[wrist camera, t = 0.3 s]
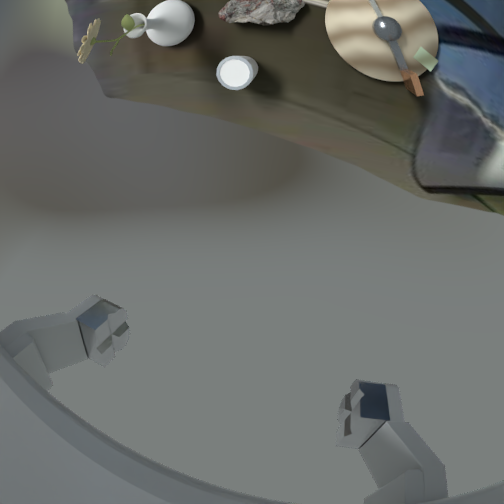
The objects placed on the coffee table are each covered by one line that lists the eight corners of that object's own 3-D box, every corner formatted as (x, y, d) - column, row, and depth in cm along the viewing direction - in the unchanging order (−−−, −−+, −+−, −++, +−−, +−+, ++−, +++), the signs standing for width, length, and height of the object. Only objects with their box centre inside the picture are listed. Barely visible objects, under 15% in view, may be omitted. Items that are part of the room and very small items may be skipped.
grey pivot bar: (352, -7, 27) (356, -13, 22) (376, -12, 24) (384, -19, 19) (398, 90, 38) (407, 98, 34) (420, 85, 36) (432, 93, 31)
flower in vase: (177, -9, 32) (93, -15, 16) (208, 22, 38) (134, 26, 21) (137, 29, 40) (51, 49, 23) (165, 59, 45) (85, 89, 29)
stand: (303, -4, 31) (303, -5, 30) (406, -26, 20) (408, -28, 19) (354, 91, 43) (355, 93, 42) (449, 71, 32) (452, 72, 31)
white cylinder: (262, 82, 46) (255, 89, 42) (230, 84, 48) (218, 91, 43) (259, 52, 42) (251, 54, 37) (226, 55, 43) (213, 58, 38)
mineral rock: (305, -4, 31) (303, -7, 28) (299, 31, 37) (297, 30, 34) (227, -10, 32) (219, -13, 29) (223, 22, 38) (215, 22, 35)
